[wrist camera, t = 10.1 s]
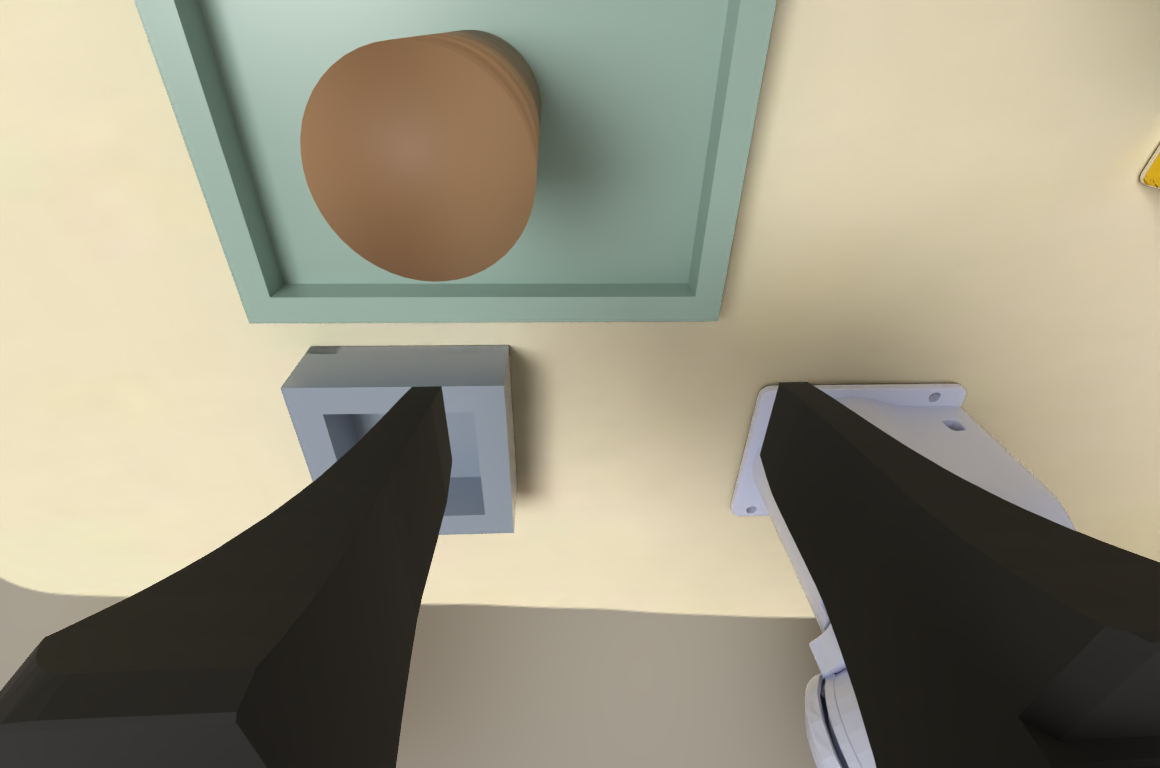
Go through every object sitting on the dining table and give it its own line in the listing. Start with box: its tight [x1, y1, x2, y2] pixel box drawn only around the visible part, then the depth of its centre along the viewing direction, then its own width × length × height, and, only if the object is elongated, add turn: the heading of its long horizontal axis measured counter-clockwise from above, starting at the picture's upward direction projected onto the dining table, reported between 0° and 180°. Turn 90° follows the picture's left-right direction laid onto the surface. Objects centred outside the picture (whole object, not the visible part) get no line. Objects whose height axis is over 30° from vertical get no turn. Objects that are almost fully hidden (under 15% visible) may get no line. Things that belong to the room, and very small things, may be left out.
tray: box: [134, 0, 777, 323], centre depth 17 cm, size 17×14×2 cm
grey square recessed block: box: [281, 345, 517, 535], centre depth 23 cm, size 8×8×3 cm
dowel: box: [300, 30, 541, 282], centre depth 13 cm, size 4×4×9 cm
